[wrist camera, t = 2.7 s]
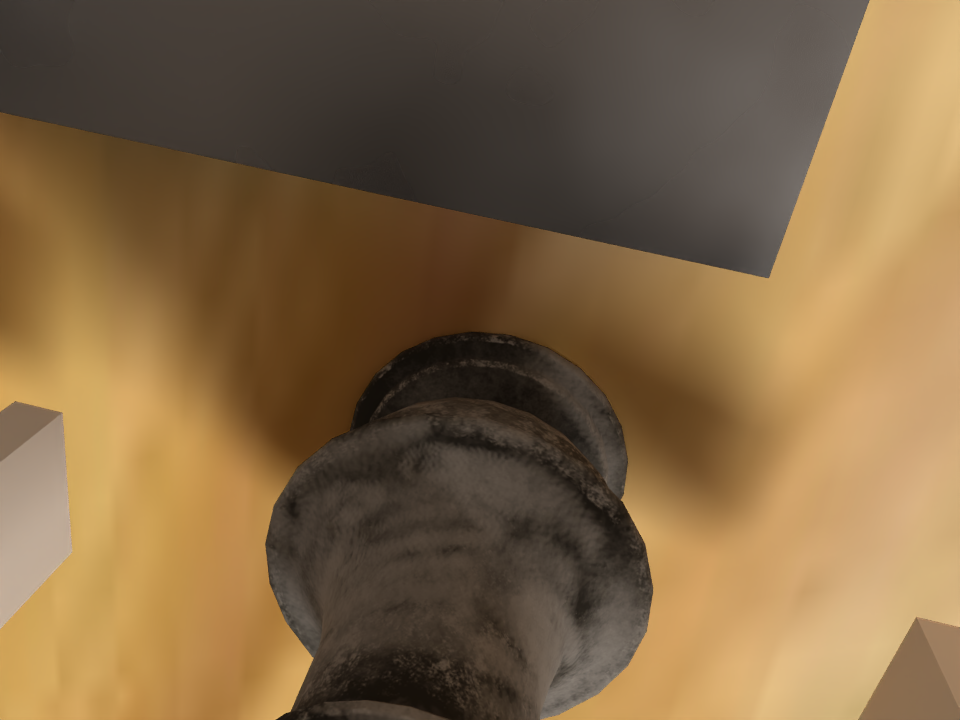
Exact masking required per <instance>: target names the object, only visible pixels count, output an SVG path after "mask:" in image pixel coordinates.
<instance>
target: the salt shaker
mask: <svg viewBox="0 0 960 720" xmlns="http://www.w3.org/2000/svg"><path fill="white" fill-rule="evenodd" d="M627 464H628V459H627V453H626V448H625V442H624V437H623V431H622V426H621V424H620V422H619V421H618V419H617V417H616V415H615V413H614V411H613V409H612V407H611V405H610V403H609V401H608V399H607V397H606V396H605V394H604V393H603V392H602V391H601V390H600V389H599V388H598V387H597V386H596V385H595V384H594V383H593V382H592V380H591V379H590V378H589V377H588V376H587V375H586V374H585V373H584V372H583V371H582V370H581V369H580V368H579V367H577V366H576V365H574V364H572V363H571V362H569V361H568V360H566V359H565V358H563V357H561V356H560V355H558V354H557V353H555V352H554V351H552V350H550V349H549V348H547V347H544V346H541V345H538V344H535V343H532V342H529V341H526V340H523V339H520V338H517V337H514V336H511V335H502V334H491V333H479V332H467V333H461V334H455V335H448V336H442V337H436V338H432V339H430V340H428V341H426V342H423V343H421V344H419V345H417V346H414V347H412V348H410V349H408V350H405V351H403V352H401V353H400V354H399V355H398V356H396V357H395V358H394V359H393V360H392V361H391V362H389V363H388V364H387V365H386V366H385V367H383V368H382V369H381V370H380V371H379V372H377V373H376V374H375V376H374V378H373V379H372V381H371V382H370V384H369V385H368V387H367V388H366V390H365V392H364V393H363V395H362V396H361V398H360V399H359V401H358V403H357V405H356V409H355V413H354V416H353V420H352V424H351V428H350V431H349V432H347V433H344V434H342V435H339V436H337V437H335V438H332V439H331V440H330V441H329V442H328V443H326V444H325V445H324V446H323V447H321V448H320V449H319V450H318V451H317V452H315V453H314V454H313V455H312V456H311V457H309V458H308V459H307V460H306V461H304V462H303V463H302V464H301V465H300V466H298V468H297V469H296V471H295V472H294V474H293V476H292V477H291V479H290V480H289V482H288V484H287V485H286V487H285V488H284V490H283V492H282V493H281V495H280V496H279V498H278V500H277V501H276V503H275V504H274V507H273V512H272V516H271V521H270V525H269V530H268V534H267V539H266V543H265V545H266V554H267V564H268V573H269V582H270V585H271V588H272V590H273V592H274V595H275V597H276V599H277V602H278V604H279V607H280V609H281V611H282V614H283V616H284V619H285V621H286V622H287V624H288V625H289V626H290V628H291V629H292V630H293V632H294V633H295V634H296V636H297V637H298V638H299V640H300V641H301V642H302V644H303V645H304V646H305V648H306V649H307V650H308V652H309V653H310V654H311V656H312V657H313V658H314V659H313V661H312V664H311V666H310V668H309V670H308V673H307V675H306V677H305V680H304V682H303V684H302V687H301V689H300V691H299V694H298V696H297V698H296V701H295V703H294V705H293V707H292V710H291V712H289V713H286V714H284V715H283V716H281V717H279V718H278V719H276V720H540V719H544V718H548V717H552V716H556V715H559V714H561V713H563V712H565V711H567V710H569V709H570V708H572V707H574V706H576V705H578V704H580V703H582V702H584V701H586V700H588V699H589V698H591V697H593V696H595V695H597V694H599V693H600V692H601V691H602V690H603V689H604V688H605V687H606V686H607V685H608V684H609V683H610V682H611V681H612V680H613V679H614V678H615V677H617V676H618V675H619V674H620V673H621V672H622V671H623V670H624V669H625V668H626V667H627V666H628V664H629V663H630V661H631V659H632V657H633V655H634V653H635V652H636V650H637V648H638V646H639V644H640V642H641V641H642V639H643V637H644V635H645V633H646V631H647V626H648V620H649V614H650V607H651V601H652V595H653V585H652V579H651V574H650V568H649V563H648V557H647V552H646V546H645V543H644V541H643V539H642V537H641V535H640V534H639V532H638V530H637V528H636V526H635V524H634V522H633V520H632V519H631V517H630V515H629V513H628V511H627V509H626V507H625V506H624V504H623V502H622V501H621V498H622V496H623V494H624V487H625V479H626V472H627Z"/></svg>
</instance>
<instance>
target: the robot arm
mask: <svg viewBox="0 0 960 720" xmlns="http://www.w3.org/2000/svg"><path fill="white" fill-rule="evenodd" d="M71 553H72V543H71V529H70V514H69V500H68V485H67V471H66V456H65V442H64V427H63V413H61V412H57V411H53V410H49V409H45V408H41V407H36V406H32V405H28V404H24V403H20V402H16V401H15V402H14V403H12V404H11V405H9V406H8V407H7V408H5V409H4V410H2V411H1V412H0V629H1V628H2V626H3V625H4V624H5V623H6V622H7V621H8V620H9V619H10V618H11V617H12V616H13V615H14V614H15V613H16V612H17V610H18V609H19V608H20V607H21V606H22V605H23V604H24V603H25V602H26V601H27V600H28V599H29V598H30V597H31V596H32V594H33V593H34V592H35V591H36V590H37V589H38V588H39V587H40V586H41V585H42V584H43V583H44V582H45V581H46V580H47V578H48V577H49V576H50V575H51V574H52V573H53V572H54V571H55V570H56V569H57V568H58V567H59V566H60V565H61V564H62V563H63V561H64V560H65V559H66V558H67V557H68V556H69V555H70V554H71ZM858 720H960V627H956V626H952V625H948V624H943V623H939V622H935V621H931V620H927V619H923V618H918V617H916V619H915V621H914V622H913V624H912V626H911V628H910V629H909V631H908V633H907V635H906V636H905V638H904V640H903V642H902V643H901V645H900V647H899V649H898V650H897V652H896V654H895V656H894V658H893V659H892V661H891V663H890V665H889V666H888V668H887V670H886V672H885V673H884V675H883V677H882V679H881V680H880V682H879V684H878V686H877V687H876V689H875V691H874V693H873V694H872V696H871V698H870V700H869V702H868V703H867V705H866V707H865V709H864V710H863V712H862V714H861V716H860V717H859V719H858Z"/></svg>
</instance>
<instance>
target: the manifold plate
mask: <svg viewBox="0 0 960 720" xmlns="http://www.w3.org/2000/svg"><path fill="white" fill-rule="evenodd" d="M868 3H869V0H0V112H2V113H6V114H11V115H16V116H20V117H25V118H30V119H34V120H39V121H43V122H48V123H53V124H57V125H62V126H67V127H71V128H76V129H81V130H85V131H90V132H94V133H99V134H104V135H108V136H113V137H118V138H122V139H127V140H131V141H136V142H141V143H145V144H150V145H155V146H159V147H164V148H168V149H173V150H178V151H182V152H187V153H192V154H196V155H201V156H205V157H210V158H215V159H219V160H224V161H229V162H233V163H238V164H243V165H247V166H252V167H256V168H261V169H266V170H270V171H275V172H280V173H284V174H289V175H293V176H298V177H303V178H307V179H312V180H317V181H321V182H326V183H330V184H335V185H340V186H344V187H349V188H354V189H358V190H363V191H367V192H372V193H377V194H381V195H386V196H391V197H395V198H400V199H404V200H409V201H414V202H418V203H423V204H428V205H432V206H437V207H442V208H446V209H451V210H455V211H460V212H465V213H469V214H474V215H479V216H483V217H488V218H492V219H497V220H502V221H506V222H511V223H516V224H520V225H525V226H529V227H534V228H539V229H543V230H548V231H553V232H557V233H562V234H566V235H571V236H576V237H580V238H585V239H590V240H594V241H599V242H604V243H608V244H613V245H617V246H622V247H627V248H631V249H636V250H641V251H645V252H650V253H654V254H659V255H664V256H668V257H673V258H678V259H682V260H687V261H691V262H696V263H701V264H705V265H710V266H715V267H719V268H724V269H728V270H733V271H738V272H742V273H747V274H752V275H756V276H761V277H765V278H769V276H770V273H771V270H772V268H773V265H774V262H775V259H776V257H777V254H778V251H779V248H780V246H781V243H782V240H783V237H784V235H785V232H786V229H787V226H788V224H789V221H790V218H791V215H792V212H793V210H794V207H795V204H796V201H797V199H798V196H799V193H800V190H801V188H802V185H803V182H804V179H805V177H806V174H807V171H808V168H809V166H810V163H811V160H812V157H813V155H814V152H815V149H816V146H817V144H818V141H819V138H820V135H821V133H822V130H823V127H824V124H825V121H826V119H827V116H828V113H829V110H830V108H831V105H832V102H833V99H834V97H835V94H836V91H837V88H838V86H839V83H840V80H841V77H842V75H843V72H844V69H845V66H846V64H847V61H848V58H849V55H850V53H851V50H852V47H853V44H854V42H855V39H856V36H857V33H858V30H859V28H860V25H861V22H862V19H863V17H864V14H865V11H866V8H867V6H868Z"/></svg>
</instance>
